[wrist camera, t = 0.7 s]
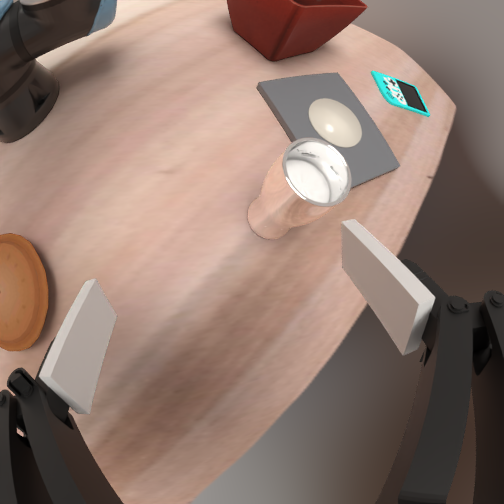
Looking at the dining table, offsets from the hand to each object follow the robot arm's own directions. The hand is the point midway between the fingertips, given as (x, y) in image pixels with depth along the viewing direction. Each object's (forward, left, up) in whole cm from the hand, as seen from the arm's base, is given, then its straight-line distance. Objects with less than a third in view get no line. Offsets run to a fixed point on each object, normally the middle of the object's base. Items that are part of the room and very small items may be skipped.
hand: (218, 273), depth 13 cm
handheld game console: (-19, +58, -21) cm, 64 cm away
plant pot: (-38, +32, -20) cm, 54 cm away
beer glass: (-4, +12, -20) cm, 24 cm away
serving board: (-14, +30, -20) cm, 39 cm away
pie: (-10, -25, -21) cm, 34 cm away
